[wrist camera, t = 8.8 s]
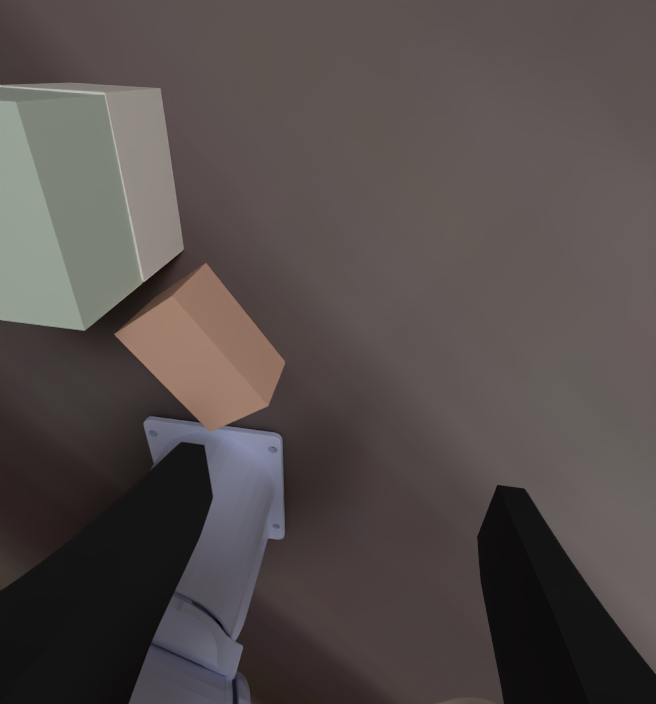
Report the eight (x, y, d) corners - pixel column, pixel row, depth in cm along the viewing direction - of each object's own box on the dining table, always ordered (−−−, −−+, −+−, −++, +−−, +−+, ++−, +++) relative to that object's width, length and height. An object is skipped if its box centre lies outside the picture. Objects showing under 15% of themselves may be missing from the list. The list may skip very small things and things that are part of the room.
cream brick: (184, 249, 19) (144, 282, 16) (108, 242, 19) (56, 272, 16) (160, 88, 15) (105, 92, 12) (70, 82, 16) (-6, 85, 13)
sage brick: (142, 283, 16) (84, 330, 13) (54, 273, 16) (-22, 317, 13) (104, 94, 13) (15, 101, 10) (-6, 85, 13) (-124, 90, 10)
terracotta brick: (286, 360, 21) (268, 406, 18) (234, 386, 23) (210, 432, 20) (207, 261, 19) (172, 295, 16) (154, 297, 20) (113, 334, 18)
